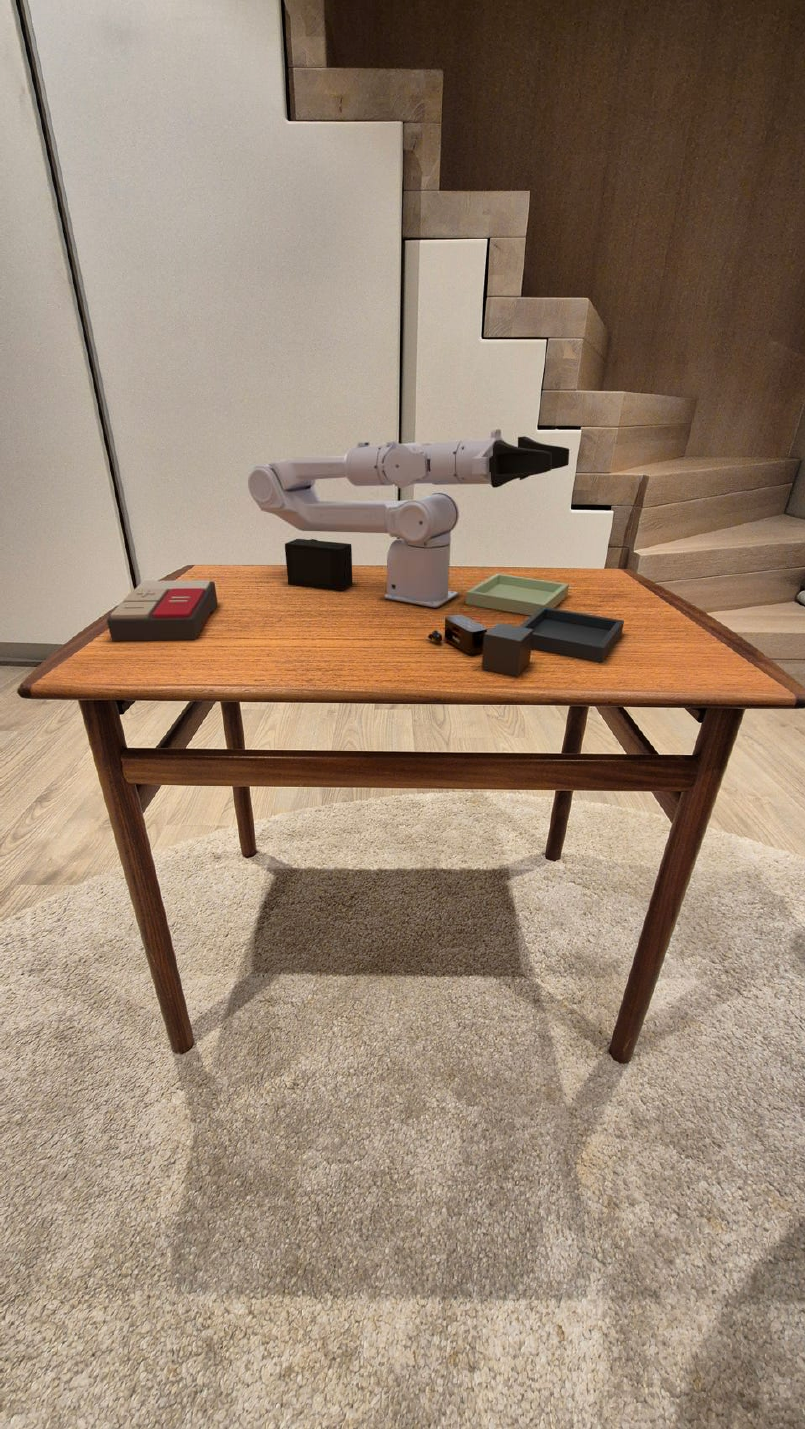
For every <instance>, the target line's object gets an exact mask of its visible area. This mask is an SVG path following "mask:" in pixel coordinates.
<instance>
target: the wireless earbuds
mask: <svg viewBox="0 0 805 1429" xmlns="http://www.w3.org/2000/svg"><path fill="white" fill-rule="evenodd" d="M487 631H488V627H487V626H485V625H483V624H481V623H479V622H477V621H475V620H473V619H471V618H469V617H467V616H465V615H463V614H455V615H449V616H445V617H444V633H443V634H444V636H442V634H441V633H440V632H439V630H438V629H436V630H432V632H430V633H429V634H428V636H427V638H428V639H429V640H434V642H436V643H441V642H442V641H443V637H444V641H446V642H447V643H448V644H450V645H452V646H454V647H456V648H457V649H459V650H461V651H463V652H464V653H466V654H467V655H472V656H473V655H476V654H481V653H483V644H484V634H485V633H486V632H487Z"/></svg>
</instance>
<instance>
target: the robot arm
mask: <svg viewBox="0 0 805 1429" xmlns="http://www.w3.org/2000/svg"><path fill="white" fill-rule="evenodd" d="M569 465H570V448H568V447H564V446H557V445H551V444H547V443H546V444H545V443H541V442H538V441H536V440H534V439H531V438H530V437H529V436H528V437H527V436H524V435H523V436H518V437H517V446H515V445H512V444H510V443H508V442H507V441H505V440H504V439H503V438H502V430H501V428H495V429H492V430H490V438H486V439H466V440H448V441H446V440H445V441H433V442H432V443H431V442H425V443H421V442H416V441H410V442H407V443H397V441H396V440H387V441H386V444H375V445H374V444H373V445H371V444H370V441H358V442H357V445H353V446H352V447H350V448H349V449H348V450H347V452H346V453H345V455H322V456H321V455H315V456H314V455H311V456H310V455H309V456H308V455H307V456H299V457H293V458H292V457H291V458H286V459H283V460H279V461H274V462H269V463H267V465H265V464H259V465H255V466H253V467H252V468H251V470H250V471H249V473H248V478H247V487H248V491H249V494H250V495H251V498H252V500H254V502H255V503H256V505H257V506H258V507H259V509H260V511H262V512H265V513H269V514H272V515H275V516H276V517H278V518H279V519H281V520H283V521H284V522H285V523H287V524H289V525H290V526H292V527H293V528H295V529H297V530H298V531H301V532H302V531H303V532H326V533H329V532H330V533H364V534H365V533H367V534H372V533H373V534H388V536H389V537H390V538H397V539H395V540H393V541H392V542H391V544H390V546H389V548H388V551H387V556H386V594H385V595H384V599H386V600H392V601H397V602H401V603H408V604H414V605H419V606H425V607H429V608H435V609H436V608H439V607H440V606H442V605H444V604H445V603H447V602H449V601H450V600H452V599H454V598H455V597H457V596H458V595H459V592H457V591H453V590H449V586H450V585H449V583H450V565H451V564H450V563H451V544H452V543H451V542H452V537H451V533H452V531H453V530H454V529H455V528H456V527H457V525H458V522H459V517H460V510H459V506H458V504H457V502H456V501H455V499H454V497H452V496H451V495H450V494H448V493H445V492H442V491H441V492H439V491H438V492H434V493H432V494H430V495H427V496H424V497H420V498H412V499H405V500H404V499H403V500H320V497H319V495H318V493H317V490H316V488H315V485H316V480H326V479H327V480H329V479H344V478H346V479H347V481H349V483H350V484H351V485H353V486H355V487H378V486H379V487H381V486H383V487H387V486H388V487H389V486H390V487H391V486H393V485H394V486H396V487H397V488H398V489H405V488H407V487H409V486H413V485H419V484H420V485H421V484H432V485H435V486H436V485H437V486H445V485H446V486H447V485H449V486H450V485H454V486H455V485H491V487H492V488H493V489H494V488H499V487H500V488H501V487H502V486H504V485H505V484H508V483H510V482H511V481H514V480H517V479H519V481H522V480H525V479H527V478H529V477H530V476H536V475H540V474H545V473H548V472H550V471H552V470H555V469H561V468H565V467H567V466H569Z"/></svg>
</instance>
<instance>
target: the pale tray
mask: <svg viewBox="0 0 805 1429" xmlns="http://www.w3.org/2000/svg"><path fill="white" fill-rule="evenodd" d="M569 588H570V584H569V583H563V582H557V581H550V580H544V579H537V578H532V577H531V578H530V577H522V576H517V575H511V574H503V573H495V574H493V575H491V576H490V577H488V578H486V579H485V580H483V581H482V582H480V583H478V584H477V585H475V586H473V587H472V588H470V589H469V590H467V591H466V592H465V605H469V606H475V607H479V608H480V607H482V608H486V609H491V610H498V611H503V612H509V613H513V614H519V615H524V616H529V617H531V616H532V615H533V614H534V613H536V612H537V611H538V610H539V609H540V608H541V607H547V608H553V609H556V607H558V605H559V604H560V603H561V602H563V601H564V599H566V598H567V597H568V595H569V594H568V593H569Z"/></svg>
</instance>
